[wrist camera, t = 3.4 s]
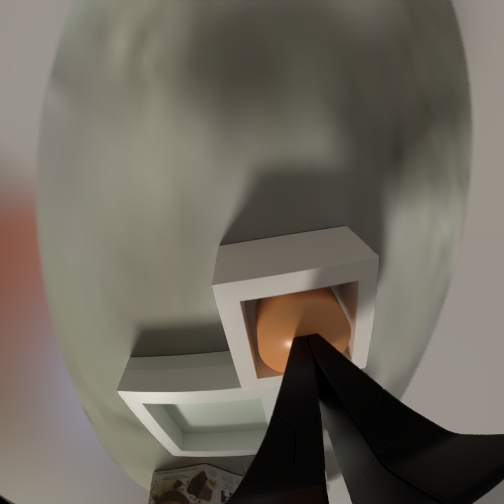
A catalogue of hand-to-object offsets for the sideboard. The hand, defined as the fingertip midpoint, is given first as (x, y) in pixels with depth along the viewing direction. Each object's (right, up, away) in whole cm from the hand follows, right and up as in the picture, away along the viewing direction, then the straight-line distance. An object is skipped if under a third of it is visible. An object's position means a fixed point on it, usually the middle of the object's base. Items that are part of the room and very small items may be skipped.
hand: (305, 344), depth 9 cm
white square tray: (-4, -6, +6) cm, 9 cm away
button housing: (0, +1, +3) cm, 3 cm away
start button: (0, +1, +2) cm, 2 cm away
